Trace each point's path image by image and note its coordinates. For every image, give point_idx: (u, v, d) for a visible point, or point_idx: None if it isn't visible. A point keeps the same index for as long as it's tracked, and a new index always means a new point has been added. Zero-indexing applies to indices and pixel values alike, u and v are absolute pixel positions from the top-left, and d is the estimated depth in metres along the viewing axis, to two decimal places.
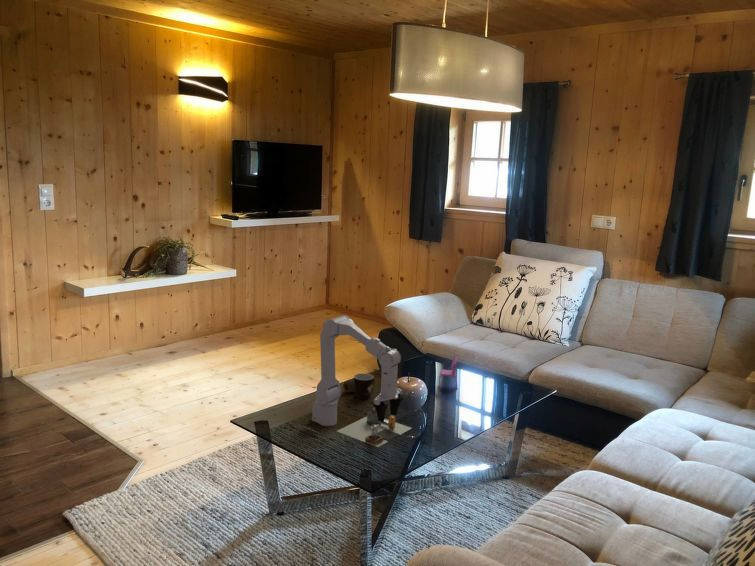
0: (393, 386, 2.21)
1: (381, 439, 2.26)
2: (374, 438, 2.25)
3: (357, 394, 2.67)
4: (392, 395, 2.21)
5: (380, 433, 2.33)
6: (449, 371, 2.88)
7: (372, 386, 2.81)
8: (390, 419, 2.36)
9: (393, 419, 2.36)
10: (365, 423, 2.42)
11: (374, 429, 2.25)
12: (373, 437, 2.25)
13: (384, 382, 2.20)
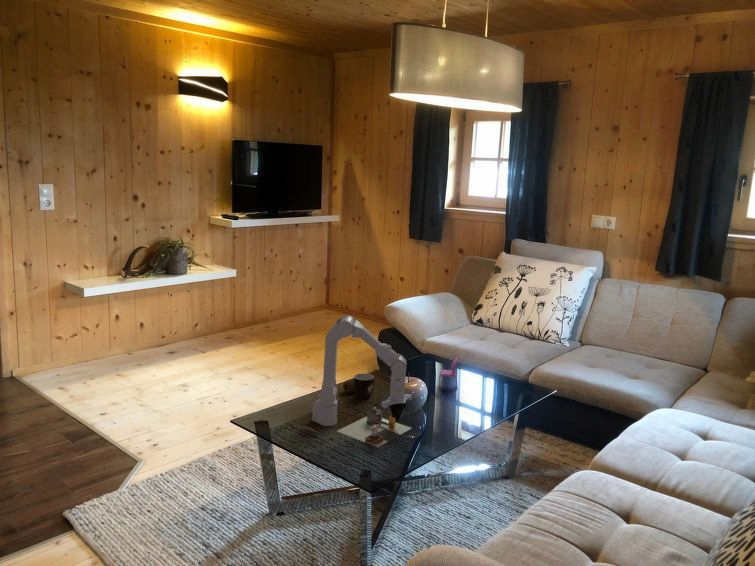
0: (400, 391, 2.34)
1: (381, 439, 2.26)
2: (374, 438, 2.25)
3: (357, 394, 2.67)
4: (399, 400, 2.35)
5: (380, 433, 2.33)
6: (449, 371, 2.88)
7: (372, 386, 2.80)
8: (390, 419, 2.36)
9: (393, 419, 2.36)
10: (365, 423, 2.42)
11: (374, 429, 2.25)
12: (373, 437, 2.25)
13: (397, 388, 2.34)
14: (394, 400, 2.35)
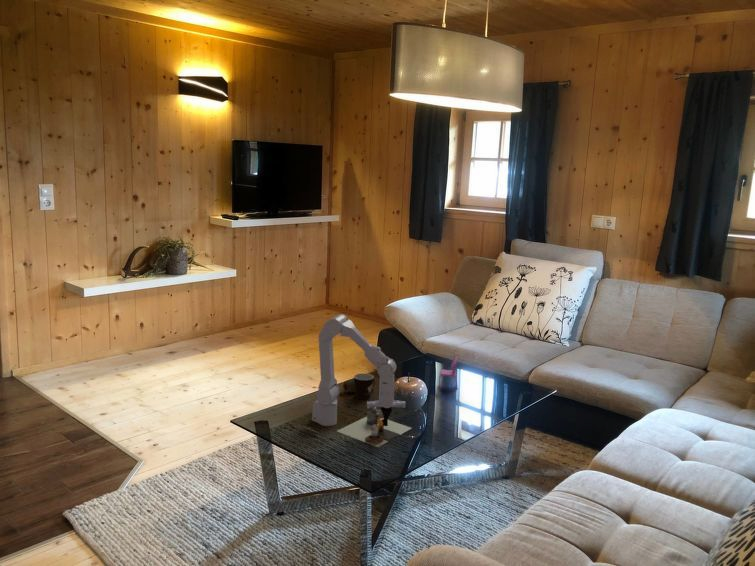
0: (385, 395, 2.29)
1: (381, 439, 2.26)
2: (374, 438, 2.25)
3: (357, 394, 2.67)
4: (384, 403, 2.30)
5: (380, 433, 2.33)
6: (449, 371, 2.88)
7: (372, 387, 2.80)
8: (377, 421, 2.34)
9: (380, 422, 2.33)
10: (365, 423, 2.42)
11: (374, 429, 2.25)
12: (373, 437, 2.25)
13: (384, 391, 2.29)
14: (379, 403, 2.31)
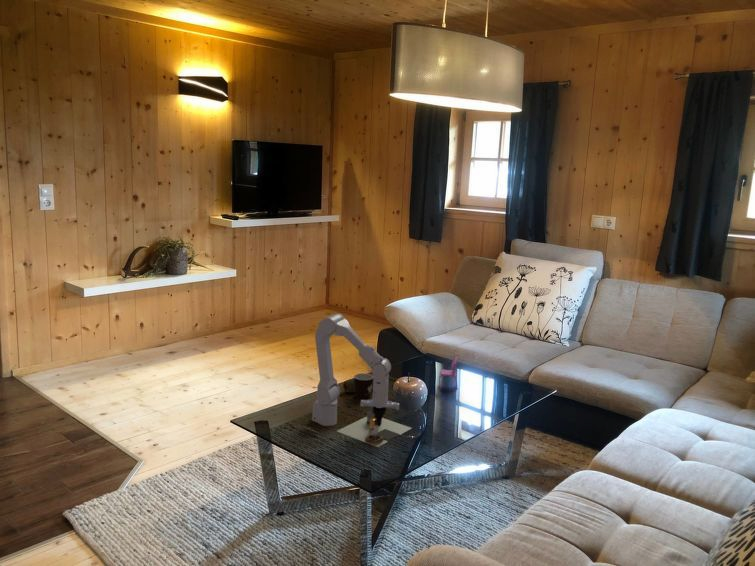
0: (377, 395, 2.29)
1: (381, 439, 2.26)
2: (374, 438, 2.25)
3: (357, 394, 2.67)
4: (376, 403, 2.29)
5: (380, 433, 2.33)
6: (449, 371, 2.88)
7: (372, 387, 2.80)
8: (370, 421, 2.34)
9: (371, 422, 2.33)
10: (365, 423, 2.42)
11: (374, 429, 2.25)
12: (373, 437, 2.25)
13: (377, 391, 2.28)
14: (372, 402, 2.31)
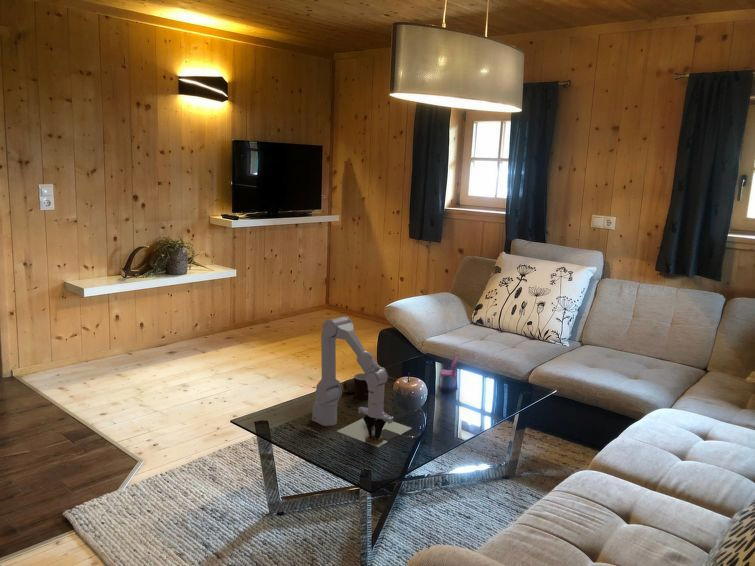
0: None
1: (381, 439, 2.26)
2: (374, 438, 2.25)
3: (357, 394, 2.67)
4: None
5: None
6: (449, 371, 2.88)
7: None
8: None
9: None
10: (365, 423, 2.42)
11: (374, 429, 2.25)
12: (373, 437, 2.25)
13: (370, 401, 2.22)
14: (383, 413, 2.24)
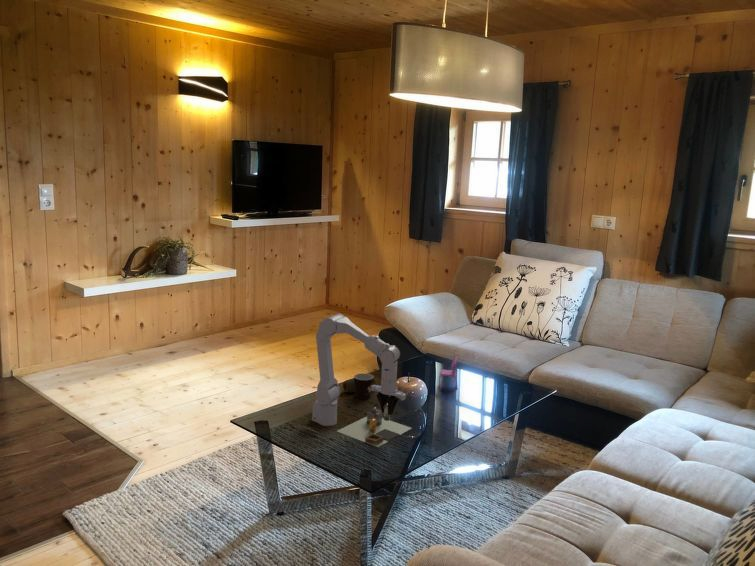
0: None
1: (381, 439, 2.26)
2: (386, 416, 2.29)
3: (357, 394, 2.67)
4: None
5: (380, 433, 2.33)
6: (449, 371, 2.88)
7: None
8: None
9: (371, 422, 2.33)
10: (365, 423, 2.42)
11: (386, 407, 2.28)
12: (386, 415, 2.29)
13: (385, 378, 2.25)
14: (396, 390, 2.28)
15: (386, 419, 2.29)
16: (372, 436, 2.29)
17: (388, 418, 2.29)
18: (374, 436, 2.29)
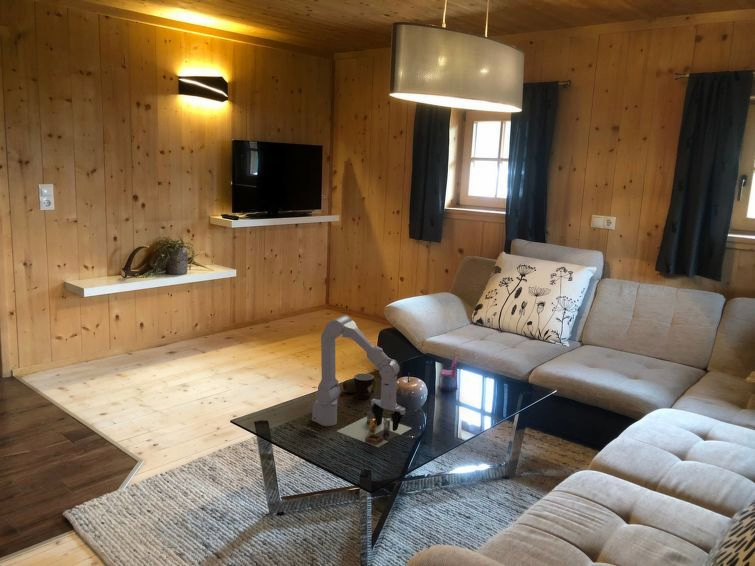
0: None
1: (381, 439, 2.26)
2: (386, 431, 2.30)
3: (357, 394, 2.67)
4: None
5: (380, 433, 2.33)
6: (449, 371, 2.88)
7: (373, 388, 2.79)
8: None
9: (371, 422, 2.33)
10: (365, 423, 2.42)
11: (386, 423, 2.30)
12: (385, 430, 2.30)
13: (385, 393, 2.26)
14: (395, 404, 2.29)
15: (386, 434, 2.31)
16: (372, 436, 2.29)
17: (388, 433, 2.31)
18: (374, 436, 2.29)
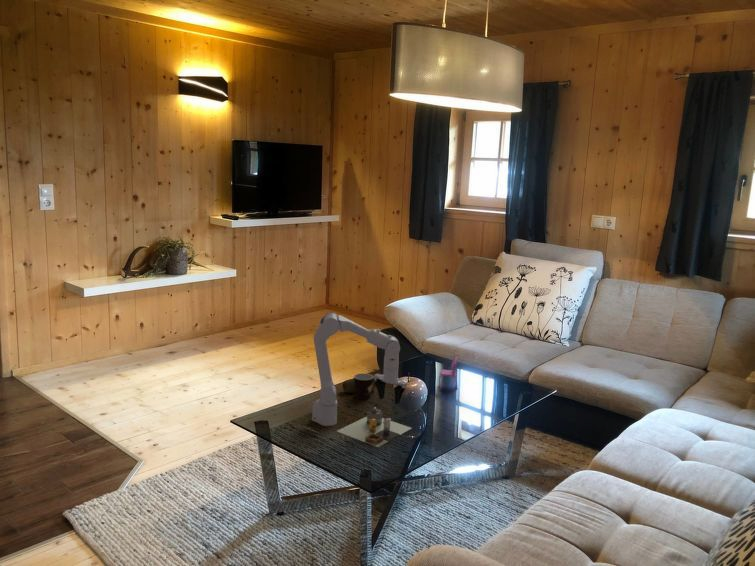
0: None
1: (381, 439, 2.26)
2: (386, 431, 2.30)
3: (357, 394, 2.67)
4: None
5: (380, 433, 2.33)
6: (449, 371, 2.88)
7: (372, 388, 2.78)
8: None
9: (371, 422, 2.33)
10: (365, 423, 2.42)
11: (386, 423, 2.30)
12: (385, 430, 2.30)
13: (391, 368, 2.37)
14: (397, 378, 2.40)
15: (386, 434, 2.31)
16: (372, 436, 2.29)
17: (388, 433, 2.31)
18: (374, 436, 2.29)
